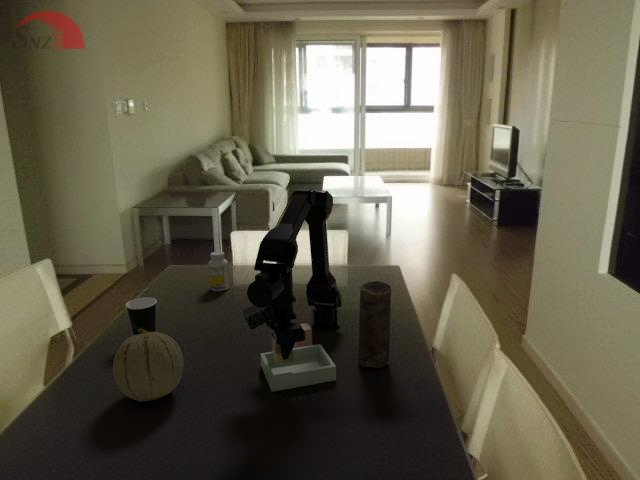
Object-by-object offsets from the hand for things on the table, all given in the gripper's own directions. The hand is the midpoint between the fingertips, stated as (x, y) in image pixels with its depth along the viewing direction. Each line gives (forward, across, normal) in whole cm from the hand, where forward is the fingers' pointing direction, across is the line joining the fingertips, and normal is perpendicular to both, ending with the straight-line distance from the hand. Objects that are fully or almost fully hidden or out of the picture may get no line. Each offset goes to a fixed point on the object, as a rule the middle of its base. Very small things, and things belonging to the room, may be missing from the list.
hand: (283, 355), depth 119 cm
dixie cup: (+5, -31, -31) cm, 44 cm away
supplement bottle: (+6, -66, -7) cm, 67 cm away
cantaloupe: (+5, -1, -29) cm, 30 cm away
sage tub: (+5, 0, +3) cm, 6 cm away
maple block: (+1, 0, 0) cm, 1 cm away
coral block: (+5, -12, +8) cm, 15 cm away
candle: (+5, +2, +22) cm, 23 cm away
